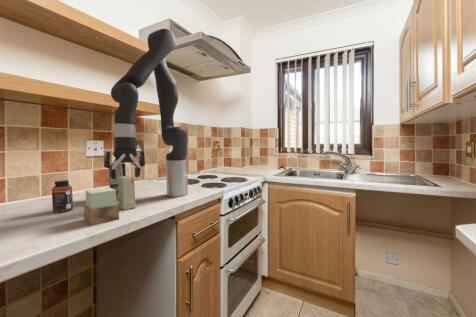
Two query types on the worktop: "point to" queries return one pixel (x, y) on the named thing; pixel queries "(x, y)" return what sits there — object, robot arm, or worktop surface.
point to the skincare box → (126, 192)
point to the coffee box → (119, 173)
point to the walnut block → (101, 214)
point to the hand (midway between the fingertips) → (125, 178)
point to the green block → (100, 198)
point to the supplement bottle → (62, 196)
